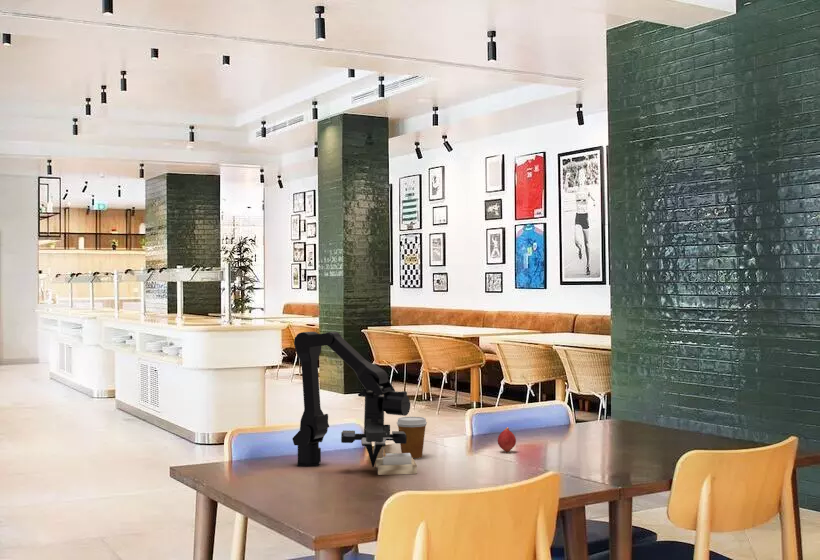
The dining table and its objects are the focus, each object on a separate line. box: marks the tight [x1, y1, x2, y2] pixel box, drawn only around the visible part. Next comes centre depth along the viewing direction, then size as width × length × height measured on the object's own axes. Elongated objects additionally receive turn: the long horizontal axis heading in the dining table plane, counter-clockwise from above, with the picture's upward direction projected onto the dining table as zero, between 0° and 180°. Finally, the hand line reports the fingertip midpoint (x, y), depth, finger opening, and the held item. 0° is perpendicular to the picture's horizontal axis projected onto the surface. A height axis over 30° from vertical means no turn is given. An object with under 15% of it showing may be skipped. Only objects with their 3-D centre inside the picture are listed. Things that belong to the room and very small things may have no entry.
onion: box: [497, 426, 517, 453], centre depth 301 cm, size 6×6×8 cm
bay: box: [375, 457, 418, 476], centre depth 272 cm, size 11×12×2 cm
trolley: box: [382, 446, 411, 465], centre depth 272 cm, size 8×7×6 cm
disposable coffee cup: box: [396, 416, 428, 459], centre depth 293 cm, size 10×10×12 cm
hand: (372, 467), depth 271 cm, fingers closed
